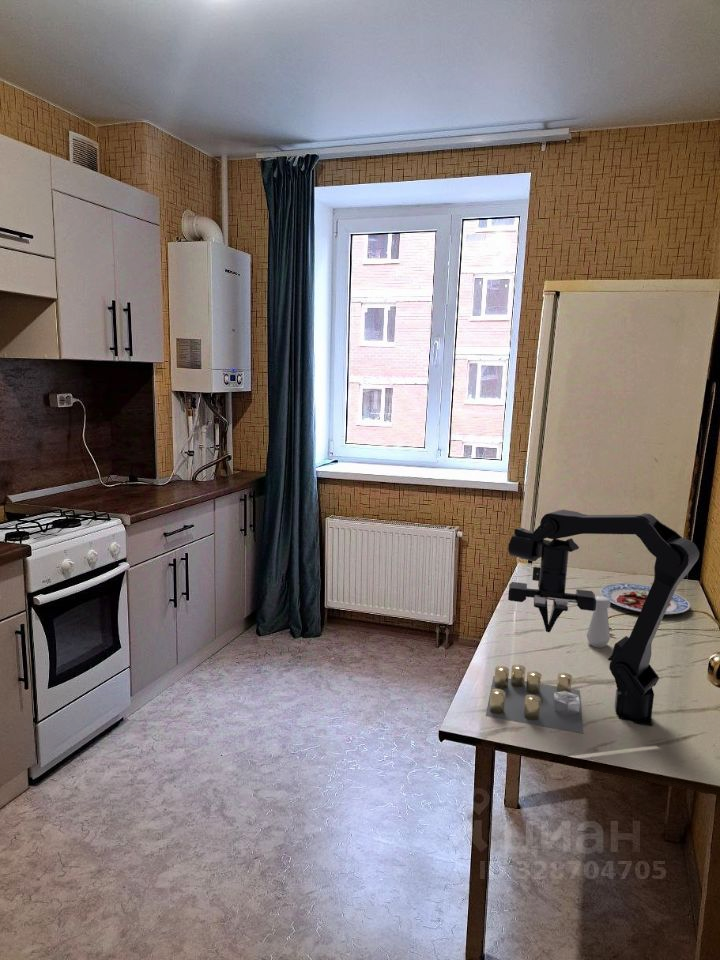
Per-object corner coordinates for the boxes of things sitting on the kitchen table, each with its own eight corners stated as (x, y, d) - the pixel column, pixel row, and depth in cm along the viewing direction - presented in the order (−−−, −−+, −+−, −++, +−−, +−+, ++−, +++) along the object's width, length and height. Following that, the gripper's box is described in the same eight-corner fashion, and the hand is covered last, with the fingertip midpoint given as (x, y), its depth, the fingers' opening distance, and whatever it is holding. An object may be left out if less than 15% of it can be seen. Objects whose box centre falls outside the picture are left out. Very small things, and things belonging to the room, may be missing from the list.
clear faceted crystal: (570, 700, 135) (570, 690, 135) (584, 712, 131) (585, 701, 130) (547, 703, 134) (547, 693, 133) (561, 716, 129) (562, 705, 128)
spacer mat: (579, 692, 140) (579, 690, 140) (583, 735, 123) (583, 733, 123) (493, 677, 145) (493, 676, 145) (485, 717, 128) (485, 715, 128)
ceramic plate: (687, 627, 179) (688, 617, 179) (593, 608, 192) (593, 599, 191) (691, 600, 201) (692, 591, 201) (606, 584, 214) (607, 576, 213)
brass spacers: (570, 689, 140) (572, 673, 139) (572, 727, 125) (574, 709, 124) (495, 677, 145) (496, 661, 144) (488, 712, 130) (490, 694, 129)
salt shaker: (590, 637, 169) (594, 592, 167) (611, 644, 166) (616, 597, 163) (582, 644, 165) (587, 597, 163) (604, 651, 161) (609, 603, 159)
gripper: (594, 560, 145) (588, 623, 148) (512, 551, 150) (507, 613, 153) (599, 575, 135) (592, 643, 137) (510, 565, 139) (505, 631, 142)
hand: (547, 631), depth 143 cm, fingers closed
